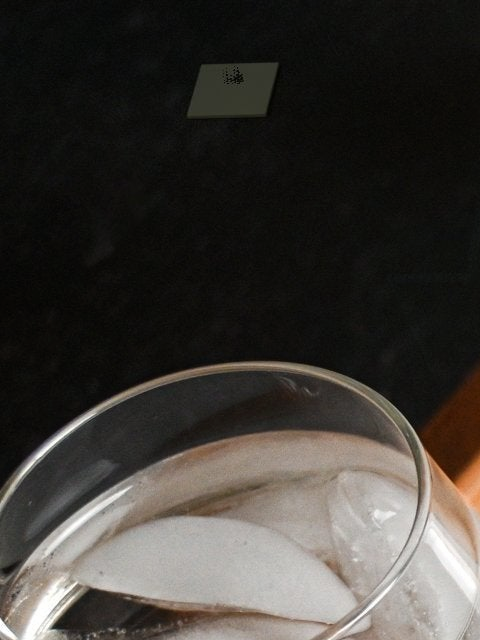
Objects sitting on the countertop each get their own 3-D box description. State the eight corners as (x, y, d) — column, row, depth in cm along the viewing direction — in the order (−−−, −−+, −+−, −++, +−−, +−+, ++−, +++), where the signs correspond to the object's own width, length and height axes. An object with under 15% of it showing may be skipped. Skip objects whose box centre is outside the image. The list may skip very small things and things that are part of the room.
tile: (187, 119, 145) (186, 115, 145) (202, 67, 148) (201, 64, 148) (266, 117, 144) (265, 113, 144) (279, 65, 148) (278, 62, 147)
